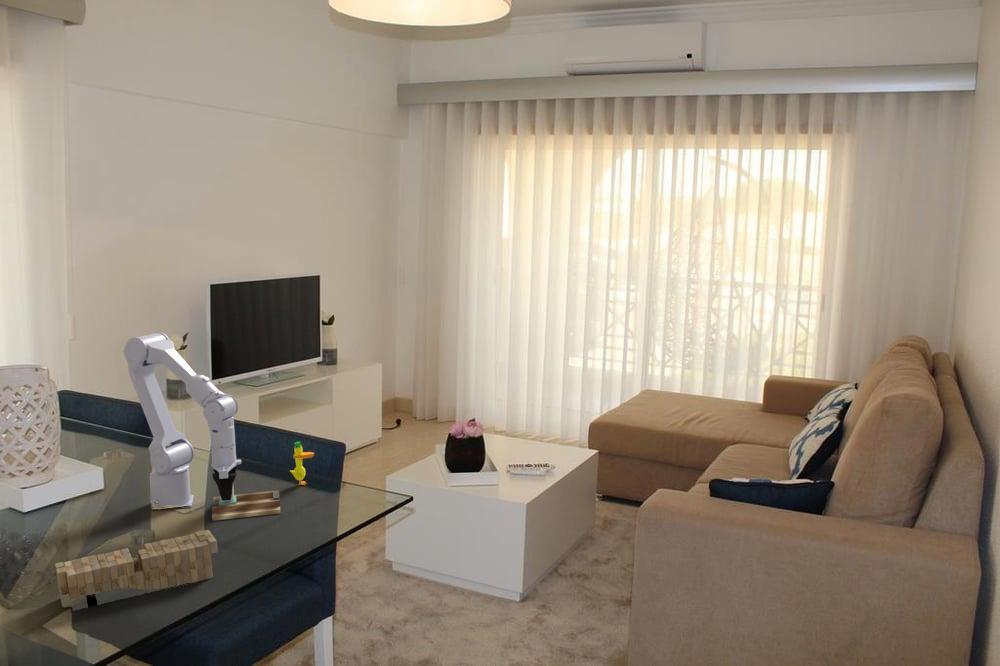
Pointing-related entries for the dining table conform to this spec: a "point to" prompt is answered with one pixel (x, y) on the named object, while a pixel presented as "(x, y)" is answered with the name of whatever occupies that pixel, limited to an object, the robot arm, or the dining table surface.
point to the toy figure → (300, 462)
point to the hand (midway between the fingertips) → (226, 497)
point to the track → (248, 506)
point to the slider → (228, 502)
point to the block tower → (140, 566)
